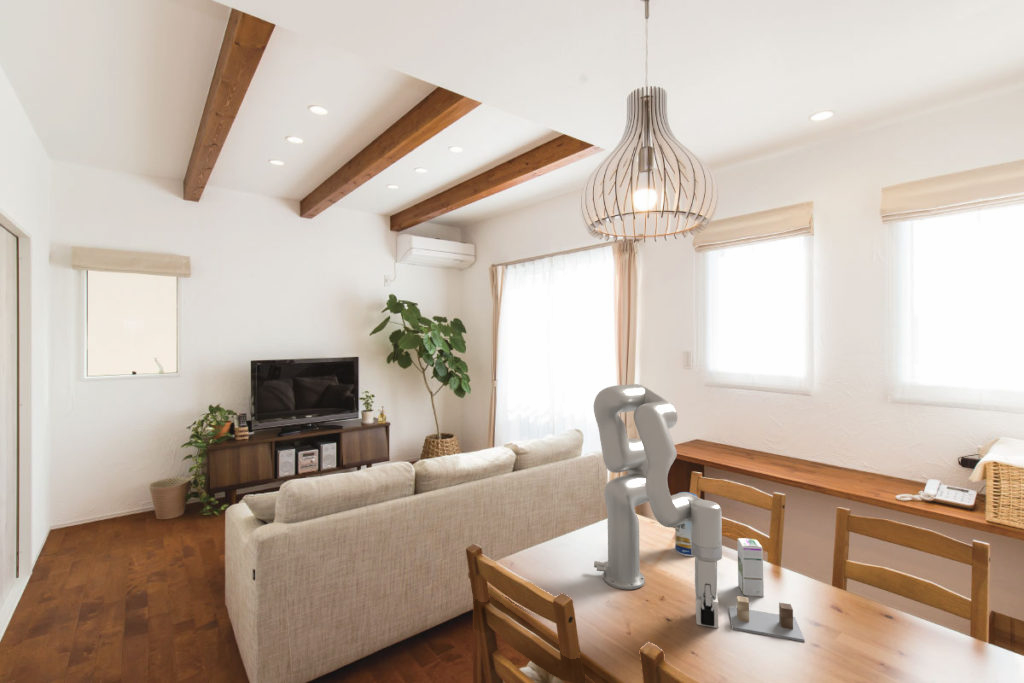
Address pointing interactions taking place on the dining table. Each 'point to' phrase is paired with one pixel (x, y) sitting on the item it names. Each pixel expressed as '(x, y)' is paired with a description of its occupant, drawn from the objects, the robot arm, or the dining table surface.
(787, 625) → the walnut post
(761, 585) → the syrup box
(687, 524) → the beverage bottle
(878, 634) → the dining table surface
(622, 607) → the dining table surface
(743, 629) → the stand
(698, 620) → the plain white cuboid
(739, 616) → the maple post
